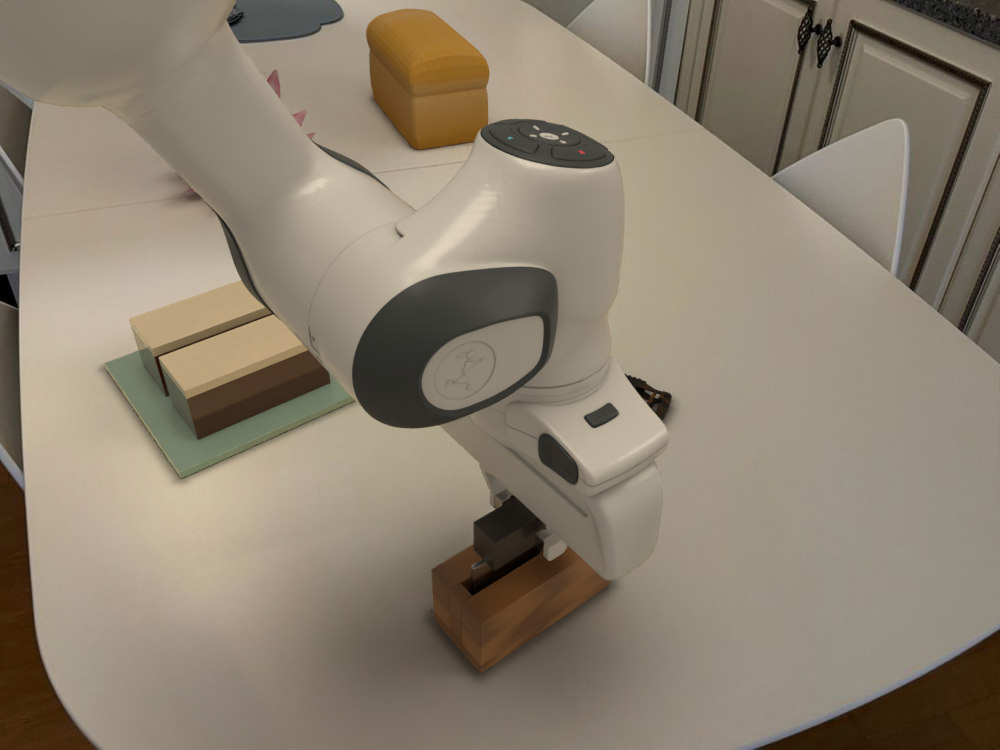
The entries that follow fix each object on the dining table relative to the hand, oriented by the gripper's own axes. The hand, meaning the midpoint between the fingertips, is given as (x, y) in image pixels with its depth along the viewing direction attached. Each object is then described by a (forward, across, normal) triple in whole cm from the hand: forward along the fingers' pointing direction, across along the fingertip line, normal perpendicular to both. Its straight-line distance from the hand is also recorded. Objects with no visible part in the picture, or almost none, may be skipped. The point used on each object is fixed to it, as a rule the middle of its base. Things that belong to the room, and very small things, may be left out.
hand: (527, 528), depth 62 cm
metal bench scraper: (+8, 0, 0) cm, 8 cm away
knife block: (+9, 0, 0) cm, 9 cm away
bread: (+9, -85, +49) cm, 99 cm away
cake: (+9, -39, -6) cm, 40 cm away
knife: (+9, -20, +20) cm, 30 cm away
